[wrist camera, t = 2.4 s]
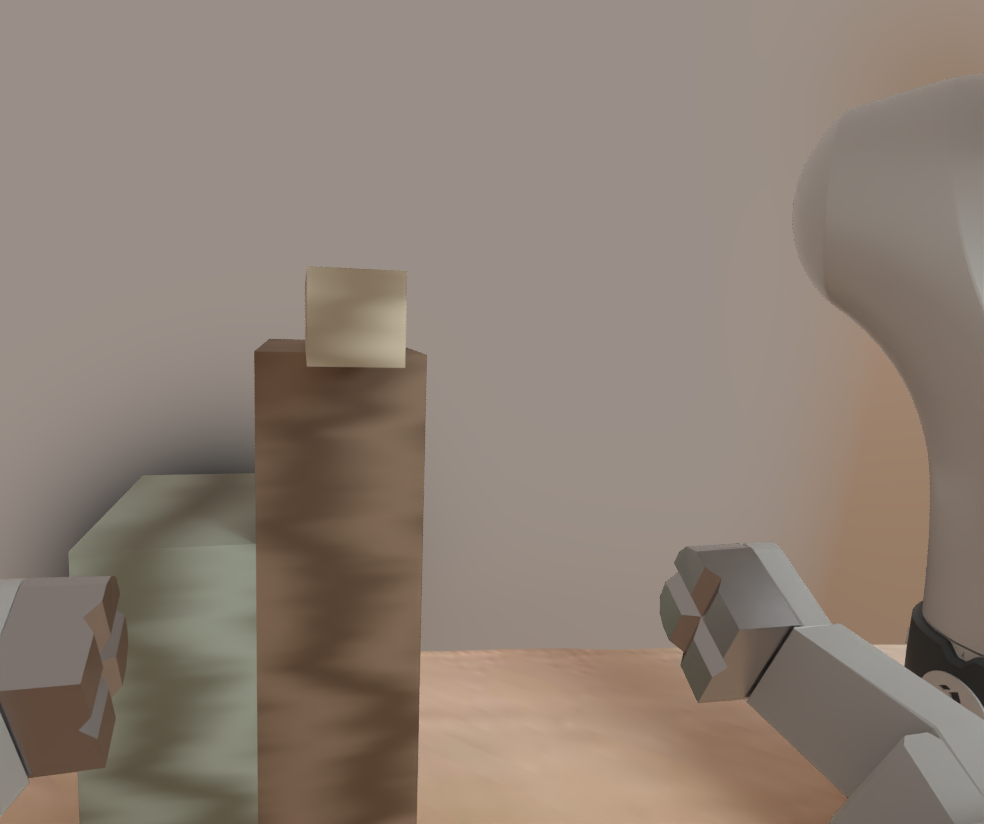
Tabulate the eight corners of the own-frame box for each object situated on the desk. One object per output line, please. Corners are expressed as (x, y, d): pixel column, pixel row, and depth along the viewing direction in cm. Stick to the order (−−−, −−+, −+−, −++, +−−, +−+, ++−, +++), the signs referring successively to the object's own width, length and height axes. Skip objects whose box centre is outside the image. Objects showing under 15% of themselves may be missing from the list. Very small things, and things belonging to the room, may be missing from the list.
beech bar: (361, 343, 40) (361, 288, 40) (405, 367, 23) (406, 271, 23) (304, 342, 40) (305, 286, 39) (306, 366, 22) (307, 266, 22)
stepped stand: (383, 741, 48) (389, 341, 45) (414, 908, 35) (426, 354, 31) (151, 766, 45) (139, 335, 41) (85, 963, 31) (60, 347, 28)
